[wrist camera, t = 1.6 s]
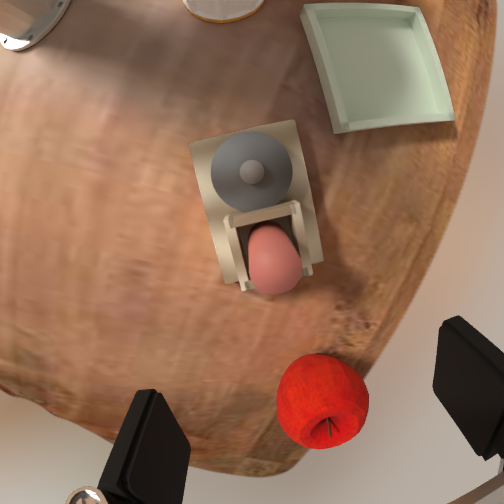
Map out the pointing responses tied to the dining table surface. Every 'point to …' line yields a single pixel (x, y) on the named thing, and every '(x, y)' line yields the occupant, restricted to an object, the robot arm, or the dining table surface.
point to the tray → (376, 65)
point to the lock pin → (272, 258)
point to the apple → (321, 402)
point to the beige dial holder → (256, 194)
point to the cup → (222, 9)
